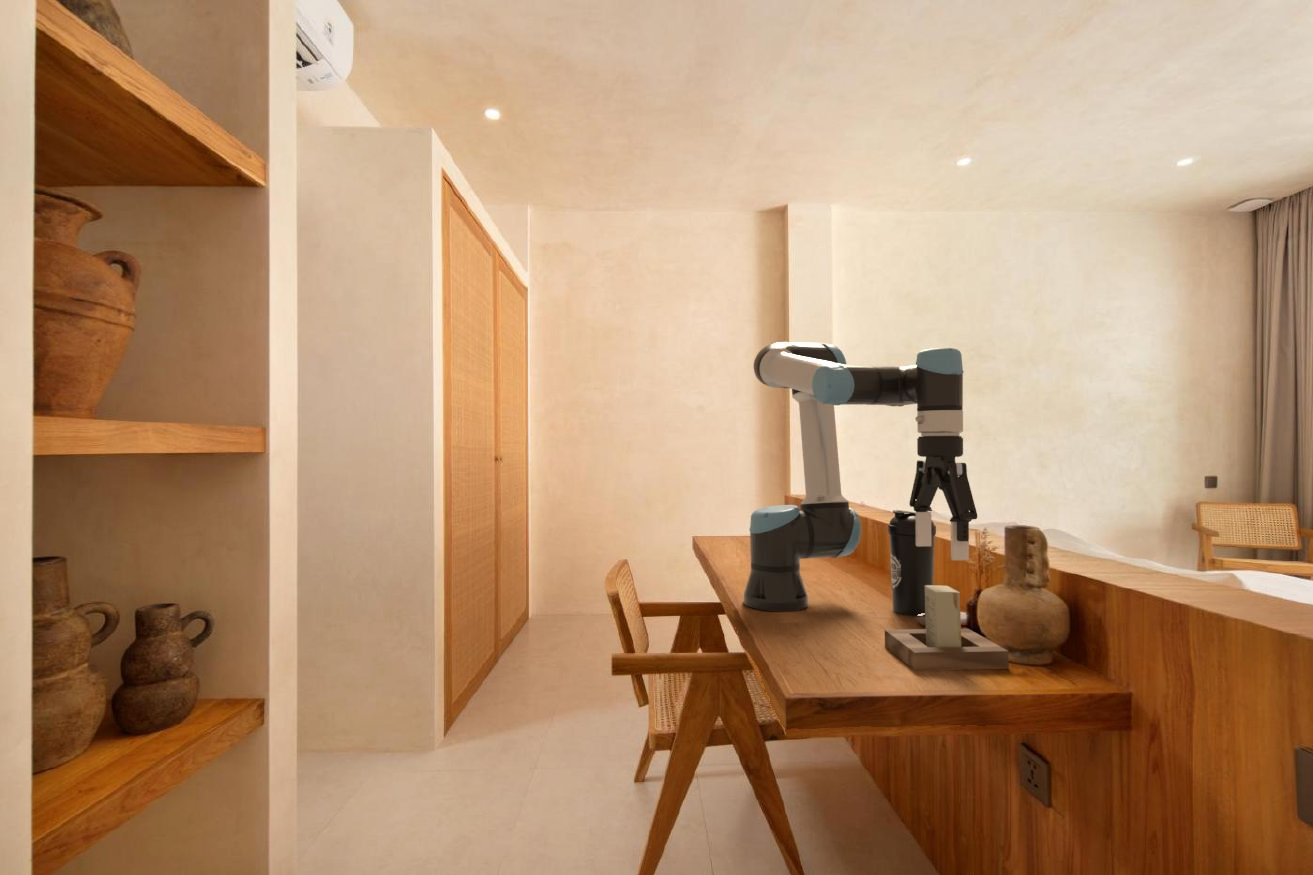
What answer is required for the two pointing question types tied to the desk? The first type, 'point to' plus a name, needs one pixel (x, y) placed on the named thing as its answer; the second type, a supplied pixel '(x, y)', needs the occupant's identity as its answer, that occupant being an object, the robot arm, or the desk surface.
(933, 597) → the skincare box
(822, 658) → the desk surface
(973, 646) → the socket stand
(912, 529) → the water bottle
